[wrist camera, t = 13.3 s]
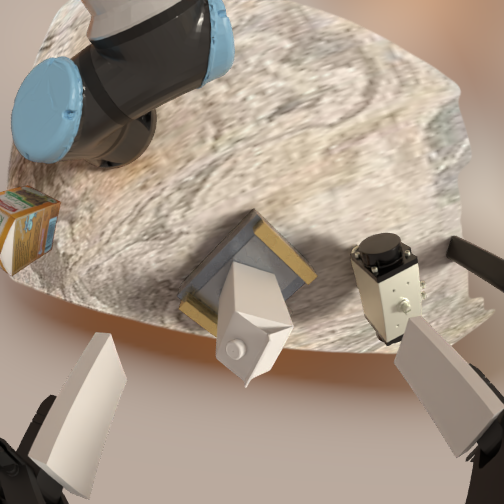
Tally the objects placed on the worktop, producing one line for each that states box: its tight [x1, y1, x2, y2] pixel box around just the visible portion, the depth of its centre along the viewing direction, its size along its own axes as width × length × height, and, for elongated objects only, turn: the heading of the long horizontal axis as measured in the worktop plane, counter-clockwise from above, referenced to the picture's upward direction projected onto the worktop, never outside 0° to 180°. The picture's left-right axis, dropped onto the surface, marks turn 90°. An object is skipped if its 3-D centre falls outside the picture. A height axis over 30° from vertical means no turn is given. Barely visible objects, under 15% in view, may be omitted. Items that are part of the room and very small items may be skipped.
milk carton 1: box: [0, 185, 61, 276], centre depth 33 cm, size 11×10×19 cm
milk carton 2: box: [216, 261, 294, 388], centre depth 35 cm, size 7×7×19 cm
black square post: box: [446, 236, 504, 293], centre depth 37 cm, size 6×6×30 cm
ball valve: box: [350, 233, 427, 346], centre depth 42 cm, size 18×8×18 cm, turn 22°
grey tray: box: [177, 209, 317, 337], centre depth 46 cm, size 18×19×8 cm
